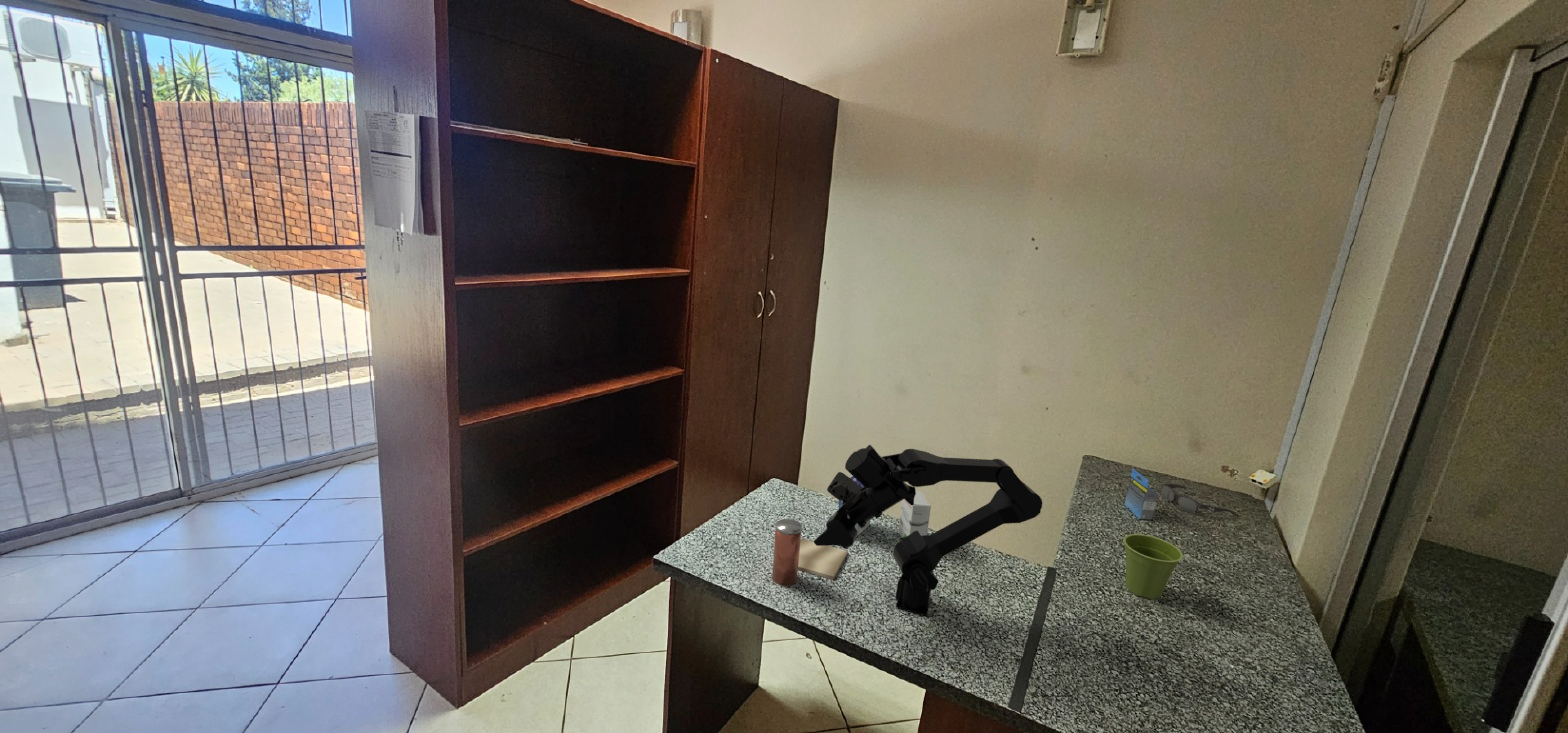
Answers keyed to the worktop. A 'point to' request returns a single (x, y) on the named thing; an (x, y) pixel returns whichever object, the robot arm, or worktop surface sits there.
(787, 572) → the tin
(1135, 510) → the label tape cartridge
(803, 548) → the coaster
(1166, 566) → the plant pot
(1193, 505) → the sunglasses
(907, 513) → the ink box
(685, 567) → the worktop surface
